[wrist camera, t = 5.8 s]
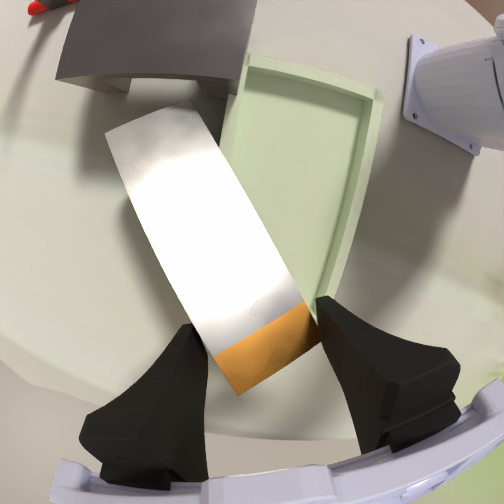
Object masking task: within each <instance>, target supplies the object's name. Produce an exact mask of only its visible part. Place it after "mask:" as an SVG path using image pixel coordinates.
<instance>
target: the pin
mask: <svg viewBox="0 0 504 504" xmlns="http://www.w3.org/2000/svg"><path fill="white" fill-rule="evenodd" d="M104 134H105V137H106V139H107V142H108V145H109V148H110V150H111V153H112V156H113V158H114V161H115V163H116V166H117V168H118V171H119V173H120V176H121V178H122V181H123V183H124V185H125V188H126V190H127V193H128V195H129V197H130V200H131V202H132V204H133V206H134V209H135V211H136V213H137V215H138V218H139V220H140V222H141V224H142V226H143V228H144V231H145V233H146V235H147V237H148V239H149V241H150V243H151V245H152V247H153V249H154V251H155V253H156V256H157V258H158V260H159V262H160V264H161V265H162V267H163V269H164V271H165V273H166V275H167V277H168V279H169V281H170V283H171V285H172V287H173V289H174V290H175V292H176V294H177V296H178V298H179V300H180V302H181V303H182V305H183V307H184V309H185V311H186V312H187V314H188V316H189V318H190V319H191V321H192V323H193V325H194V326H195V328H196V330H197V332H198V333H199V335H200V337H201V338H202V340H203V342H204V343H205V345H206V347H207V348H208V350H209V352H210V353H211V355H212V356H213V358H214V360H215V361H216V363H217V364H218V366H219V368H220V369H221V371H222V372H223V374H224V376H225V377H226V379H227V380H228V382H229V383H230V385H231V386H232V388H233V389H234V391H235V392H236V394H237V395H240V394H242V393H243V392H245V391H247V390H248V389H250V388H252V387H253V386H255V385H257V384H258V383H260V382H262V381H263V380H265V379H266V378H268V377H270V376H271V375H273V374H274V373H276V372H277V371H279V370H280V369H282V368H283V367H285V366H287V365H288V364H290V363H291V362H292V361H294V360H295V359H297V358H298V357H300V356H301V355H303V354H304V353H306V352H307V351H308V350H310V349H311V348H313V347H314V346H316V345H317V344H318V343H320V342H321V341H322V340H324V339H323V335H322V333H321V331H320V329H319V327H318V325H317V323H316V322H315V320H314V318H313V316H312V314H311V312H310V310H309V308H308V307H307V305H306V303H305V301H304V299H303V297H302V295H301V293H300V292H299V290H298V288H297V286H296V284H295V282H294V280H293V279H292V277H291V275H290V273H289V271H288V269H287V268H286V266H285V264H284V262H283V260H282V258H281V257H280V255H279V253H278V251H277V249H276V248H275V246H274V244H273V242H272V240H271V238H270V237H269V235H268V233H267V231H266V229H265V228H264V226H263V224H262V222H261V221H260V219H259V217H258V215H257V213H256V212H255V210H254V208H253V206H252V205H251V203H250V201H249V199H248V197H247V196H246V194H245V192H244V190H243V189H242V187H241V185H240V183H239V182H238V180H237V178H236V176H235V175H234V173H233V171H232V170H231V168H230V166H229V164H228V163H227V161H226V159H225V157H224V156H223V154H222V152H221V151H220V149H219V147H218V145H217V144H216V142H215V140H214V139H213V137H212V135H211V134H210V132H209V130H208V128H207V127H206V125H205V123H204V122H203V120H202V118H201V117H200V115H199V113H198V112H197V110H196V108H195V107H194V105H193V103H192V102H191V100H190V99H189V100H186V101H183V102H180V103H177V104H174V105H171V106H168V107H166V108H163V109H160V110H157V111H155V112H152V113H150V114H147V115H145V116H142V117H140V118H137V119H135V120H132V121H130V122H128V123H126V124H123V125H121V126H119V127H117V128H114V129H112V130H110V131H108V132H106V133H104Z"/></svg>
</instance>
